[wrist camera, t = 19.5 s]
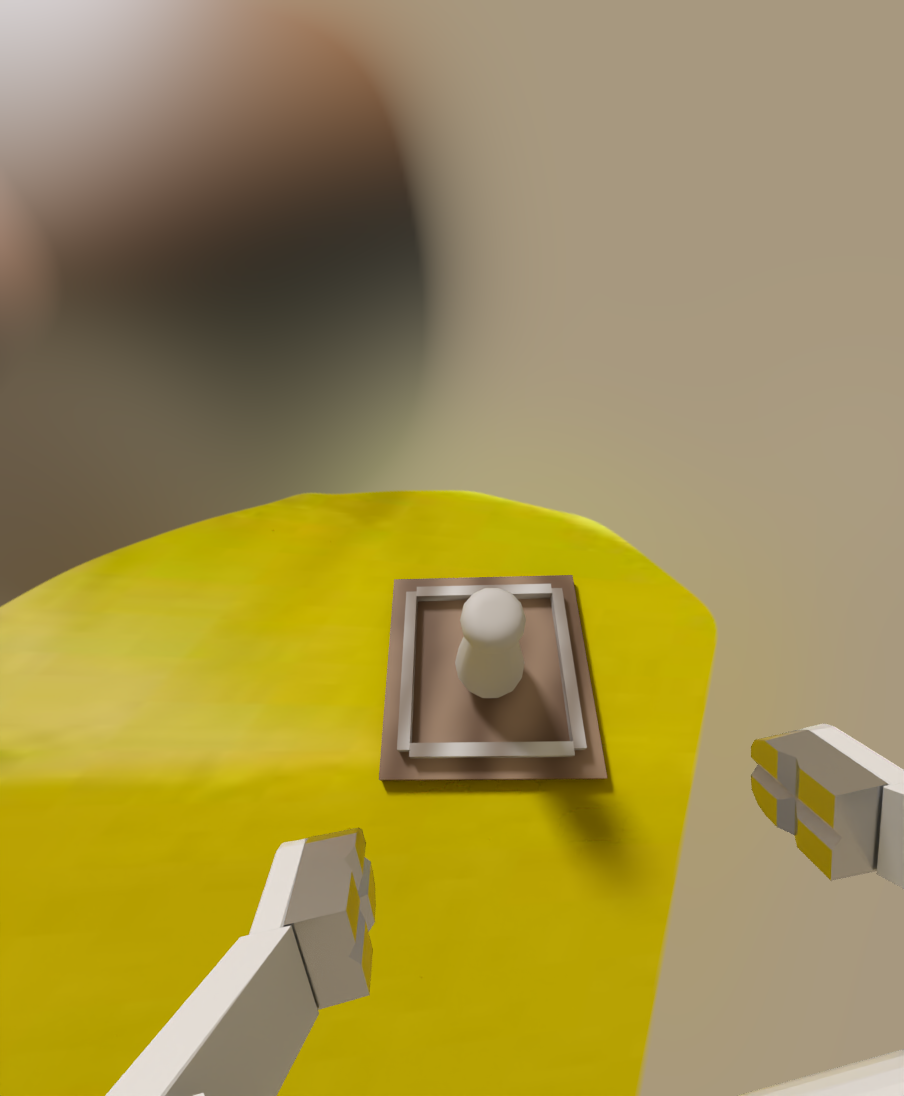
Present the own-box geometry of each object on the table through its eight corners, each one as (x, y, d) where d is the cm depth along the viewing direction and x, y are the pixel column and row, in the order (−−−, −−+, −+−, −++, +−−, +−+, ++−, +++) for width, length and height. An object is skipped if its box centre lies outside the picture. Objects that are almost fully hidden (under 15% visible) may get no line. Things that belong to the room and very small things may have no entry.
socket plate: (381, 780, 35) (375, 778, 33) (395, 584, 44) (392, 573, 43) (604, 779, 34) (611, 776, 32) (570, 579, 44) (574, 569, 42)
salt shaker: (531, 656, 39) (553, 593, 28) (506, 716, 36) (520, 673, 25) (472, 630, 40) (471, 560, 29) (445, 686, 38) (432, 632, 27)
